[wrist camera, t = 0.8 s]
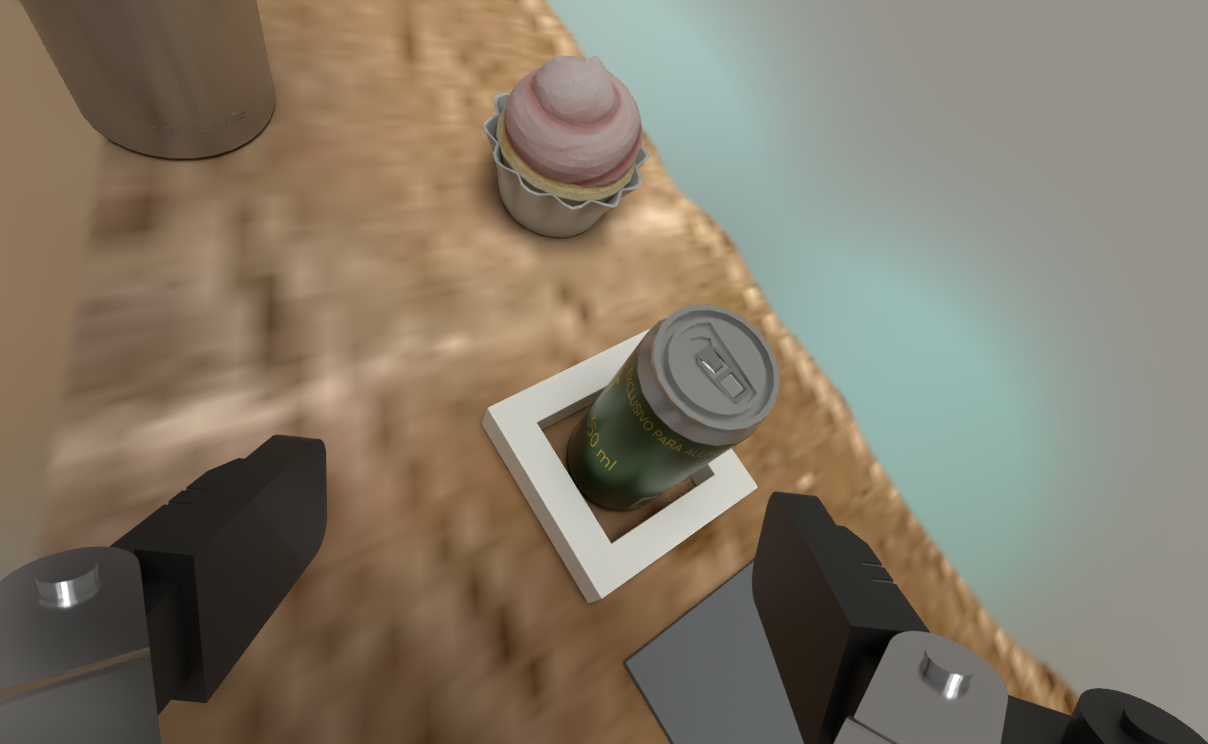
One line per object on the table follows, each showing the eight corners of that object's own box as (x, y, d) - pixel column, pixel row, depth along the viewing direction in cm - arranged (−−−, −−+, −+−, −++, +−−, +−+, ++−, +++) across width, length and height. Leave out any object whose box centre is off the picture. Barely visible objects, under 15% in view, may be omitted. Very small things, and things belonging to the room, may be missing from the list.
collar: (481, 423, 31) (487, 408, 30) (636, 347, 36) (649, 328, 34) (588, 603, 29) (601, 598, 27) (737, 497, 34) (758, 487, 32)
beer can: (682, 474, 34) (812, 385, 23) (608, 536, 31) (718, 467, 21) (619, 396, 34) (718, 276, 24) (542, 449, 32) (616, 341, 21)
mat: (623, 662, 29) (626, 662, 28) (770, 546, 33) (774, 545, 33) (751, 879, 27) (756, 882, 26) (889, 723, 31) (895, 723, 31)
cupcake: (644, 190, 41) (711, 63, 33) (582, 287, 37) (641, 169, 28) (522, 114, 41) (557, -35, 32) (442, 203, 36) (458, 57, 28)
